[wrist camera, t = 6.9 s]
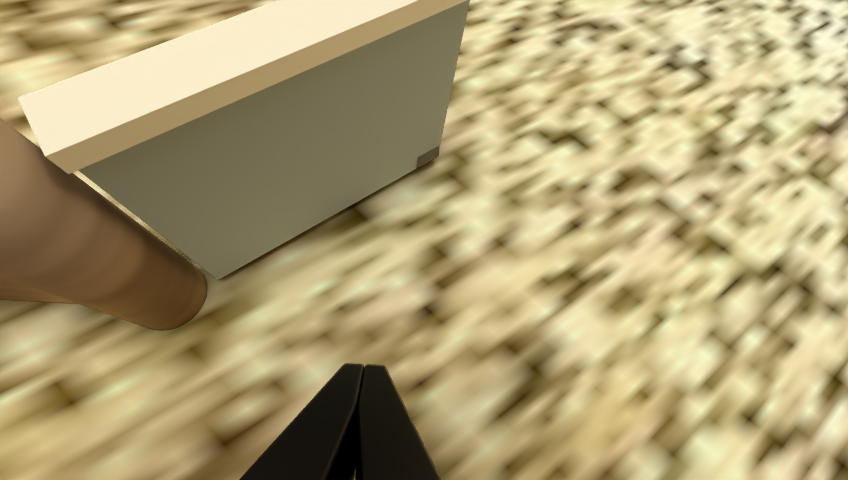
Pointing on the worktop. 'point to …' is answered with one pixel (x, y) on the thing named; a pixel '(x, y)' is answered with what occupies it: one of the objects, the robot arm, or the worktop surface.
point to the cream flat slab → (259, 120)
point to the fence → (84, 246)
